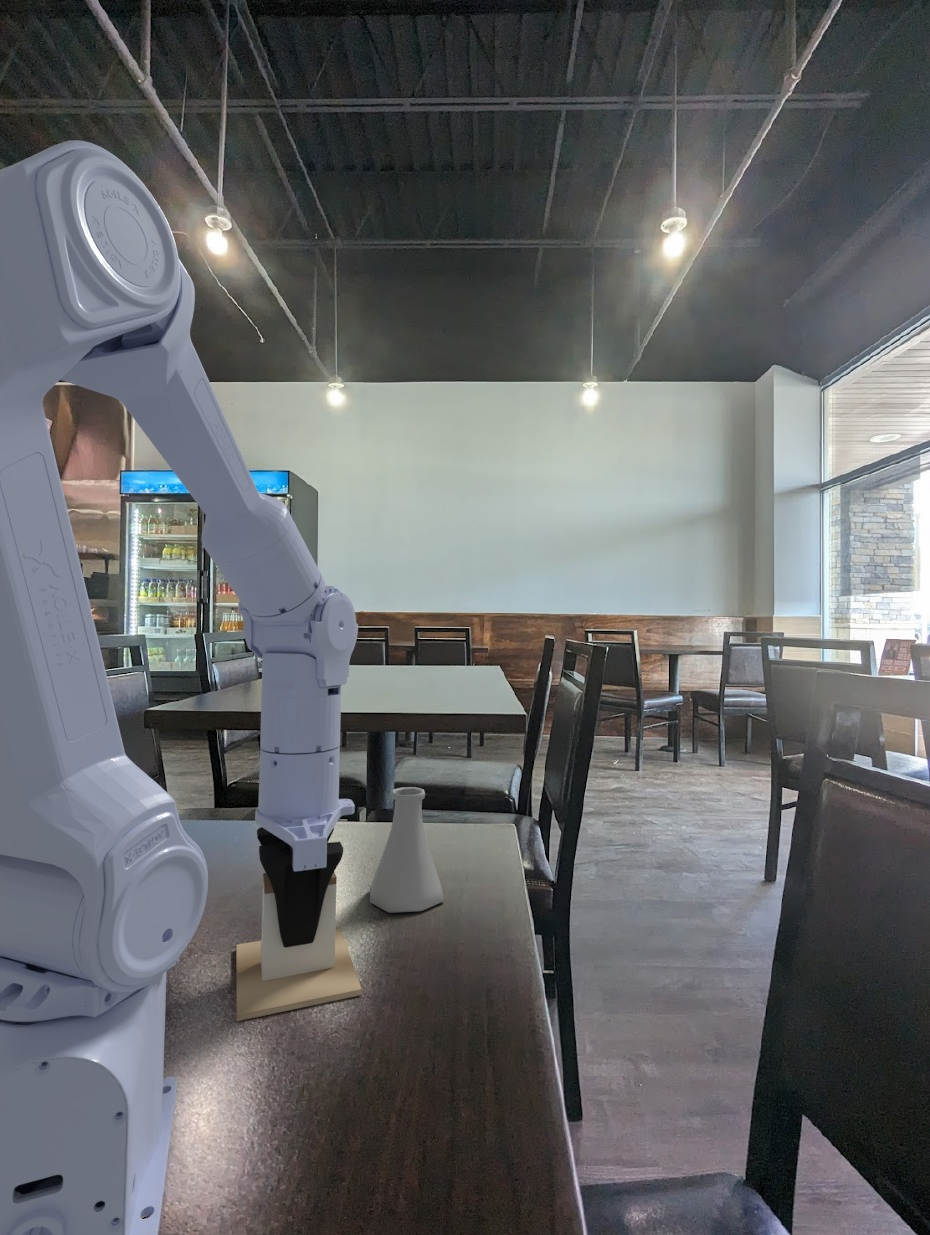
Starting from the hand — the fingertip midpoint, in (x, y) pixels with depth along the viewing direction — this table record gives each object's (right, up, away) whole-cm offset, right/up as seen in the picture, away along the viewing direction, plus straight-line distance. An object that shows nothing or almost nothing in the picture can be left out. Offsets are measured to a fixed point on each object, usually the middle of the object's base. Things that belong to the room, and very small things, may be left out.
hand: (296, 932), depth 43 cm
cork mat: (0, -3, 0) cm, 3 cm away
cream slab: (0, -2, 0) cm, 2 cm away
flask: (+7, -4, +12) cm, 15 cm away
